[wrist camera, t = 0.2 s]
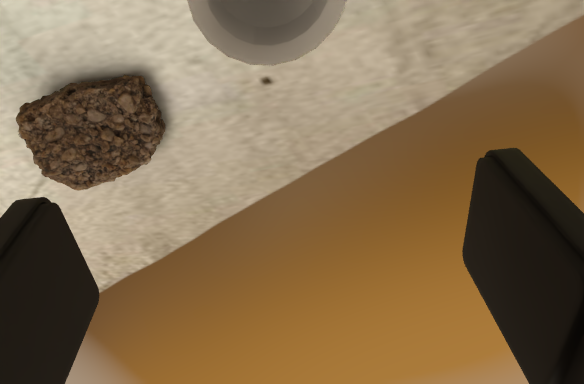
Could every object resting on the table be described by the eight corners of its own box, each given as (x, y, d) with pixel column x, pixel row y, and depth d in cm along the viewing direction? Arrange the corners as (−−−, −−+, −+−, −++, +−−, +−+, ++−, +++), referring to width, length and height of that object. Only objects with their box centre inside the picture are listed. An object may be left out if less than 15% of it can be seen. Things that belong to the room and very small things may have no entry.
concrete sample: (59, 171, 44) (38, 199, 40) (24, 72, 39) (-5, 93, 34) (174, 167, 45) (165, 195, 41) (156, 69, 39) (143, 89, 35)
